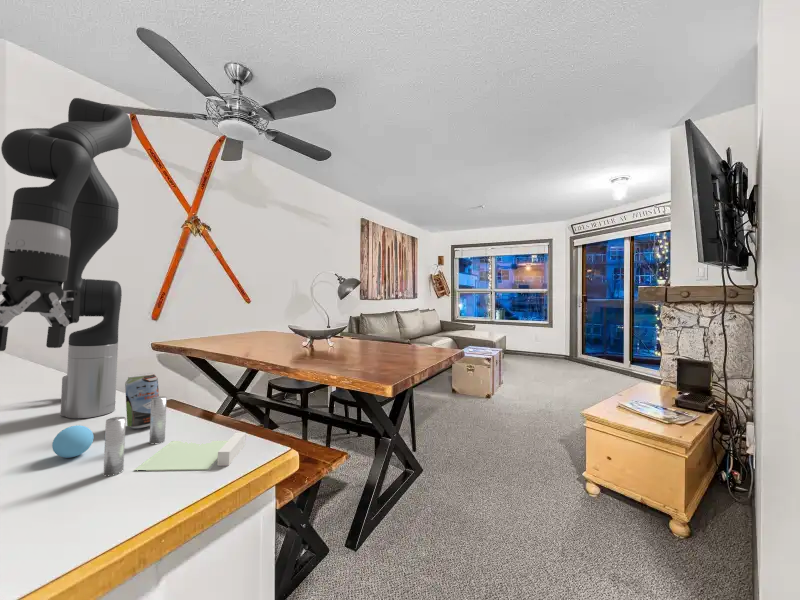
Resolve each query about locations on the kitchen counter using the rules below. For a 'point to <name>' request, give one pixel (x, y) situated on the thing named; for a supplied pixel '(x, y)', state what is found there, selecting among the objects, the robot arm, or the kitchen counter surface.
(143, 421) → the beverage can
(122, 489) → the kitchen counter surface
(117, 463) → the post
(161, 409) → the post
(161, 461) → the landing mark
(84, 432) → the ball
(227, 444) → the stopper wall
